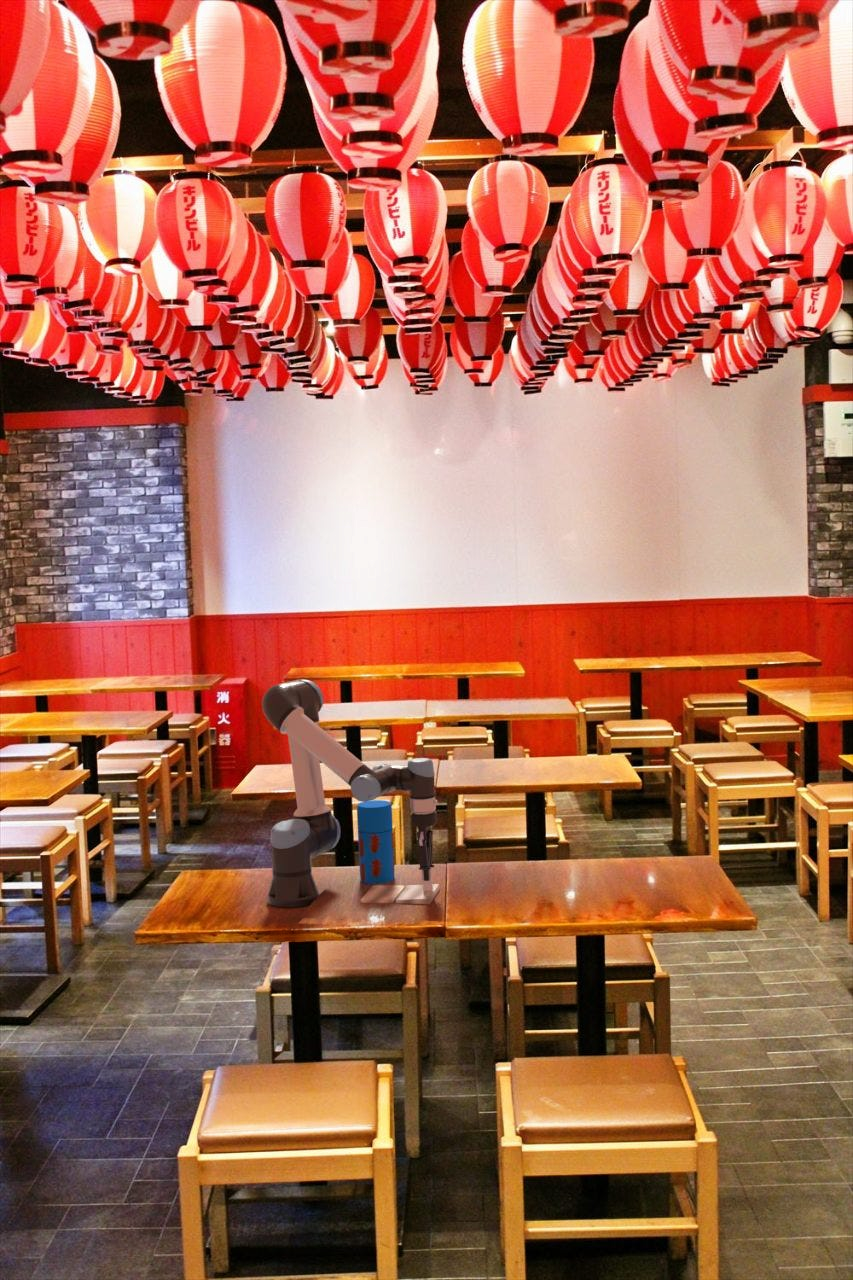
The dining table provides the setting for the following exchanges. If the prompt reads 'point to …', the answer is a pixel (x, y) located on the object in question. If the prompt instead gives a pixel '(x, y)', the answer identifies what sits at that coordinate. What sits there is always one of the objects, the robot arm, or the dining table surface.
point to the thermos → (375, 841)
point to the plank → (417, 894)
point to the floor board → (382, 894)
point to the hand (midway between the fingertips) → (428, 890)
